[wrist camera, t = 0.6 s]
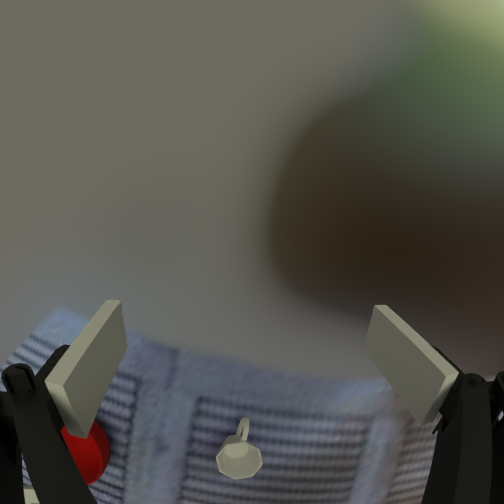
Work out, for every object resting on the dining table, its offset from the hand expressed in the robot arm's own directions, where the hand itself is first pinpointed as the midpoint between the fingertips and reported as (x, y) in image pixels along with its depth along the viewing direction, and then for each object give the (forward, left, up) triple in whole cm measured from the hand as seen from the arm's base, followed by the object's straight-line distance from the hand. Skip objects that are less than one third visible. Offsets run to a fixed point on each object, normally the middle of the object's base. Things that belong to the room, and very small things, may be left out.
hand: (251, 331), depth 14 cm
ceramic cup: (-10, +33, -35) cm, 49 cm away
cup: (-17, +5, -35) cm, 39 cm away
